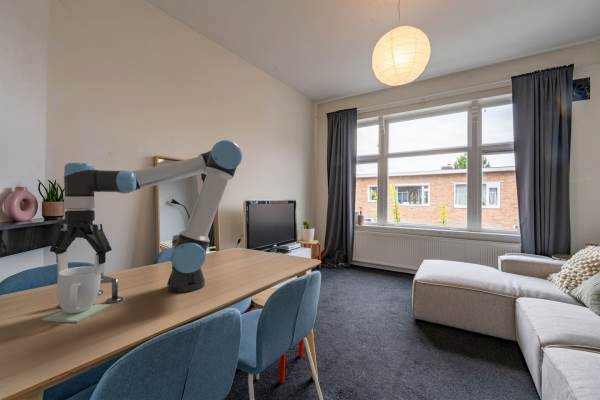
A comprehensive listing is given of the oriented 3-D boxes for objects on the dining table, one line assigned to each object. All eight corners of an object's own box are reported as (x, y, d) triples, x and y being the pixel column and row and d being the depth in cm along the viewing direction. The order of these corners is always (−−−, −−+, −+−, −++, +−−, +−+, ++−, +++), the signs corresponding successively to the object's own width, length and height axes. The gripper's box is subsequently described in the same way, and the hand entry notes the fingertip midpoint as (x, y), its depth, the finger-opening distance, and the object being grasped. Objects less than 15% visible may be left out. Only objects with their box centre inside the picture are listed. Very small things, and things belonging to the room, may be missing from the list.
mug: (94, 318, 79) (97, 277, 79) (46, 325, 74) (49, 281, 73) (100, 300, 92) (103, 265, 92) (60, 305, 86) (62, 267, 86)
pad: (110, 306, 89) (110, 304, 89) (77, 322, 77) (77, 320, 77) (80, 304, 90) (80, 303, 90) (42, 320, 78) (42, 318, 78)
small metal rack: (135, 293, 101) (136, 270, 101) (100, 310, 85) (100, 283, 85) (95, 291, 103) (95, 268, 103) (53, 307, 87) (53, 280, 87)
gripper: (123, 208, 86) (124, 270, 86) (58, 209, 89) (59, 269, 89) (104, 210, 79) (105, 277, 79) (34, 210, 81) (35, 275, 81)
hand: (81, 273), depth 84 cm, fingers open, 13 cm apart
